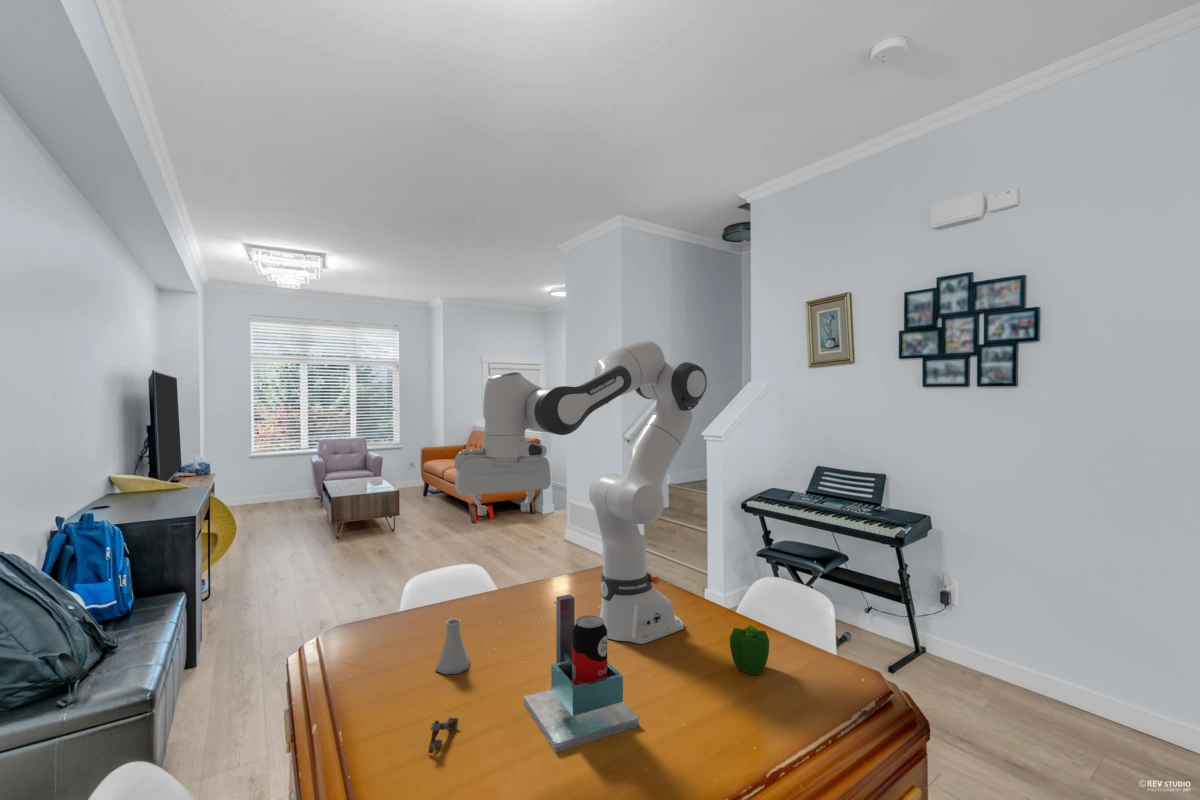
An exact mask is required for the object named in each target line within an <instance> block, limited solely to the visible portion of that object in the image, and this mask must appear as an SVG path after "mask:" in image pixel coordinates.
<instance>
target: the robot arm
mask: <svg viewBox="0 0 1200 800" xmlns="http://www.w3.org/2000/svg"><path fill="white" fill-rule="evenodd" d="M594 367H595V368H594V377H593V378H591V379H588V380H586V381H584V382H582V383H581V384H579V385H576V386H570V385H569V386H568V385H567V386H566V385H564V386H557V387H551V388H550V387H548V388H543V387H541V386H539V385H537V384H535V383H533V382H531V381H530V380H528V379H527V378H525V377H524V375H523V374H522V373H520V372H516V371H512V372H508V373H507V372H506V373H500V374H495V375H492V376H490V377H489V378H488V379H487V380H486V383H485V386H484V393H483V405H482V406H483V407H482V408H483V410H482V412H483V414H482V415H483V418H484V429H483V435H482V436H483V437H482V438H483V439H482V440H483V441H482V445H483V446H482V448H475V449H461V451H460V452H458V453H457V454H456V455H455V457H454V467H455V468H454V469H455V470H456V475H455V484H454V489H455V491H456V492H457V493H458V494H459V495H461V496H467V495H468V496H469V495H470V496H472V497H471V498H472V500H473V502H474V503H475V505H476V506H477V515H478V516H481V517H482V516H487V513H488V512H487V510H488V507H487V506H486V505H482V503H481V501H480V500H482V495H483V494H485V495H486V494H495V493H496V494H497V493H499V494H500V493H509V492H510V493H511V492H513V493H514V492H525V494H526V497H525V500H524V501H522V502H520V512H524V513H525V512H530V510H531V509H530V508H531V506H530V505H531V503H532V501H533V499H534V497H535V494H536V491H538V490H547V489H548V488H549V487H550V485H551V483H552V478H551V477H552V476H551V475H552V474H551V466H550V461H549V459H547V457H546V455H547V447H546V446H545V445H542V444H538V443H535V442H533V441H532V440H526V430H529V431H533V432H540V433H550V434H554V435H556V436H557V435H559V436H566V435H569V434H572V433H573V432H575V431H576V430H578V428H579V427H581V425H582V424H583V423H584V422H585V420H586V419H587V418H588V417H589V416H590V415H591V414H592V413H593V412H594V411H596V410H598V409H599V408H601V407H603V406H604V405H606V404H608V403H609V402H611V401H613V400H615V399H616V398H618V397H620V396H623V395H627V394H629V393H631V392H633V391H635V392H636V394H638V395H639V396H640V397H642V398H644V399H647V400H654V401H656V403H655V404H656V405H655V408H654V412H653V413H652V415H650V417H649V418H648V420H647V421H646V423H645V424H644V425H643V427H642V429H641V430H640V432H639V434H638V435H637V437H636V438H635V440H634V441H633V443H632V445H631V446H630V447H629V448H630V449H629V455H630V461H629V465H628V468H627V470H626V472H625V473H624V475H623V474H622V475H621V474H617V473H609V474H603V475H599V476H598V477H596V478H595V479H594V480H593V481H592V482H591V484H590V486H589V489H588V497H589V498H588V499H589V501H590V502H591V504H592V507H593V508H594V511H595V514H596V518H597V523H598V526H599V532H600V535H601V536H600V537H601V542H602V543H601V545H602V573H601V578H600V580H601V581H600V582H601V583H600V591H601V592H600V593H601V605H600V611H599V612H600V614H599V617H601V618H602V619H603V620H604V625H605V627H606V628H607V639H609V640H613V641H618V642H619V641H621V642H630V643H631V642H632V643H634V644H639V645H641V644H642V645H643V644H646V643H649V642H652V641H655V640H658V639H660V638H663V637H666V636H669V635H672V634H673V633H676V632H679V631H681V630H684V627H685V626H684V622H683V621H682V619H680V617H678V616H677V615H675V610H674V605H673V603H672V601H671V600H670V599H669V598H668V597H667V596H665V595H664V594H663V593H661V592H660V591H659V590H657V589H656V588H655V587H653V584H654V585H659V584H660V582H661V578H660V577H659V576H658V575H656V574H651V573H650V572H647V545H646V541H645V539H644V537H643V535H642V534H641V532H640V531H641V530H640V528H639V525H650V524H651V523H654V522H655V521H657V520H658V519H659V517H660V516H661V515H662V513H663V511H664V506H665V500H664V499H665V498H664V495H663V491H662V490H663V484H664V479H665V476H666V474H667V471H668V469H669V468H670V465H671V464H672V462H673V460H674V459H675V457H676V455H677V453H678V451H679V449H680V448H681V447H682V444H683V443H684V442H685V439H686V437H687V435H688V433H689V430H690V427H691V424H692V423H693V422H692V421H693V412H692V410H693V409H694V408H695V407H697V406H698V404H699V402H700V401H701V399H702V398H703V396H704V394H705V392H706V388H707V383H708V381H707V375H706V372H705V370H704V369H703V368H702V367H701V366H700V365H698V364H695V363H692V362H689V361H686V362H685V361H678V360H666V359H665V354H664V352H663V350H662V348H661V347H660V346H659V344H657V343H655V342H653V341H652V340H643V341H637V342H633V343H630V344H627V345H626V344H625V345H624V346H622V347H619V348H616V349H614V350H612V351H610V352H609V353H607V354H605V355H603V357H601V358H600V359H599V360H597V362H596V363H595V366H594ZM652 583H653V584H652Z"/></svg>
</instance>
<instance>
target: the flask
mask: <svg viewBox="0 0 1200 800" xmlns="http://www.w3.org/2000/svg"><path fill="white" fill-rule="evenodd" d="M461 623H462V620H461V619H459V618H449V619H448V620H446V621H445V626H446V635H445V640H444V643H443V647H442V650H441V652H440V653H441V654H440V657H439V660H438V662H437V664H436V667H435V672H437V673H440V674H443V675H456V674H460V673H462V672H464V671H465V670H467V669H469V667H470V663H471V660H470V657H469V655H468V653H467V650H466V647H465V644H464V643H463V639H462V636H461V630H460V628H461V627H460V625H461Z"/></svg>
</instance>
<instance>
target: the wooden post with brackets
mask: <svg viewBox="0 0 1200 800" xmlns="http://www.w3.org/2000/svg"><path fill="white" fill-rule="evenodd" d="M459 719H460V718H459V717H453V716H448V718H447V721H442V722H440V721H439V720H435V721H434V723H431V726H430V731H432V732H431V738H430V742H429V746H428V751H427V753H428V754H433V753H434V750H435V748H438V749H440V748H439V747H441V746H442V744H443V739H441V738H438V739H437V736H438V735H439V732H440V730H442V731H444V730H454V731H455V730H457V729H458V724H459Z"/></svg>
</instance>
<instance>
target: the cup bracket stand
mask: <svg viewBox="0 0 1200 800" xmlns="http://www.w3.org/2000/svg"><path fill="white" fill-rule="evenodd" d="M555 598H556V599H555V603H556V604H555V605H556V609H555V610H556V613H555V614H556V617H555V618H556V620H555V622H556V623H555V624H556V625H555V627H556V629H555V630H556V631H555V633H556V637H555V639H556V642H555V644H556V648H555V651H556V653H555V655H556V656H555V658H556V659H555V660H556V661H555V662H556V663H552V664H551V665H550V666H551V676H550V677H551V679H550V680H551V681H550V682H551V688H550V689H548V690H544V691H539V692H536V693H535V692H534V693H532V694H528V695H524V696H523V706H524V707H525V709H526V710H527V711H528V713H529V714H530V716H531V718H532V719H533V721H534V722H535V724H536V725H537V727H538V729H539V730H540V731H541V733H542V735H543V737H544V738H545V740H547V742H548V745H550V747H551V748H552V750H553V752H554V753H555V754H557V753H559V752H563V751H566V750H569V749H572V748H575V747H578V746H581V745H585V744H589V743H591V742H594V741H597V740H601V739H605V738H606V737H610V736H613V735H616V734H619V733H622V732H626V731H629V730H632V729H636V728H638V727H640V717H639V716H638V715H637V713H635V712H634V711H633V709H631V707H629V706H628V705H627V704H626V703H625V702H624V676H623V674H621V672H619V671H618V670H617V669H616V668H615V667H614V666H613V665H611V663H610V662H608V661H607V678H603V679H599V680H595V681H591V682H588V683H584V684H580V685H576V686H575V685H574V684H573V683H572V631H573V628H574V626H575V624H576V619H575V617H576V616H575V614H576V613H575V610H576V609H575V597H574V596H573V595H572V594H570V593H569V594H566V595H558V596H556V597H555Z"/></svg>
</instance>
